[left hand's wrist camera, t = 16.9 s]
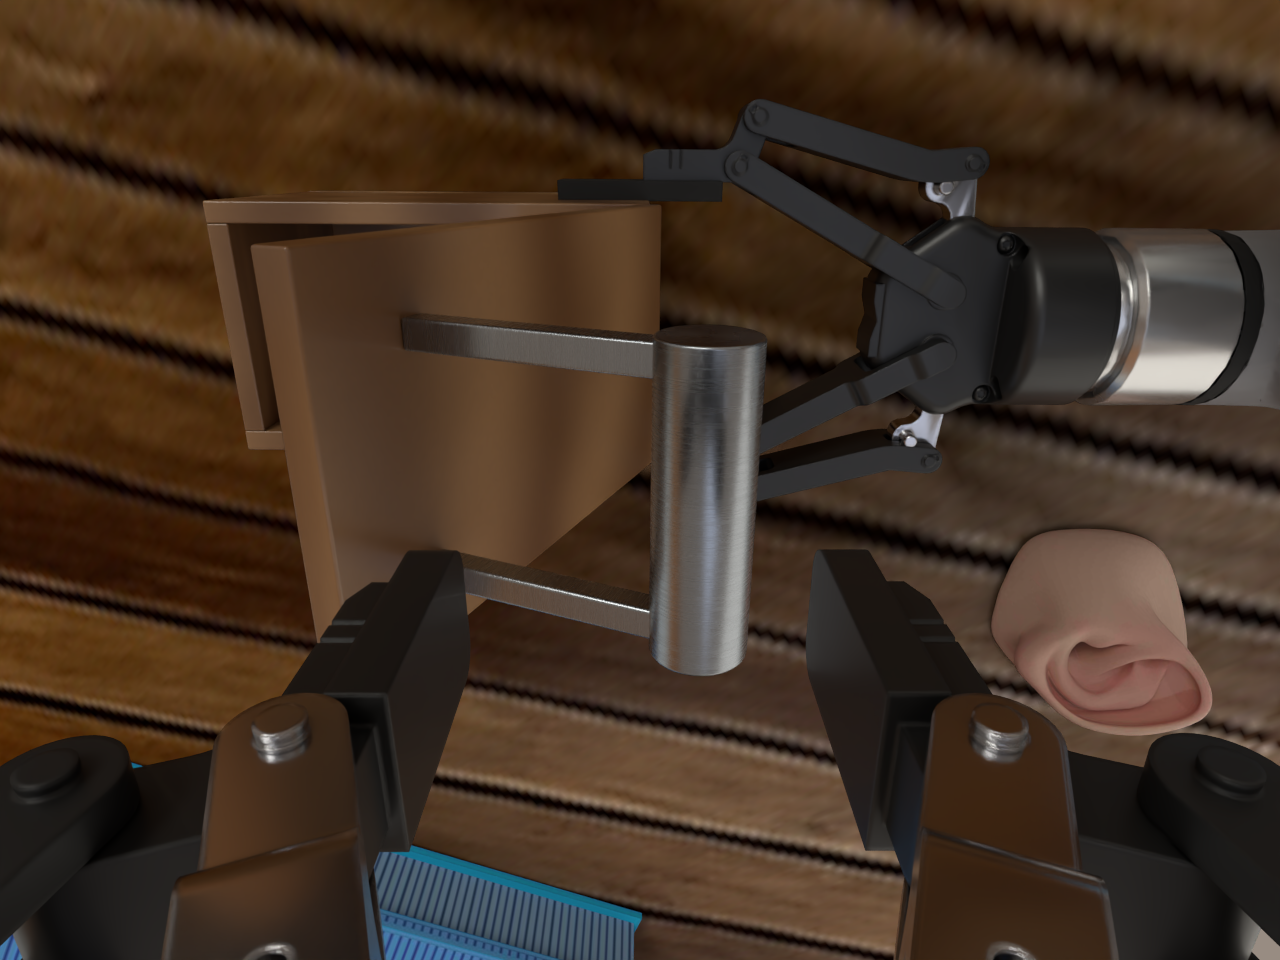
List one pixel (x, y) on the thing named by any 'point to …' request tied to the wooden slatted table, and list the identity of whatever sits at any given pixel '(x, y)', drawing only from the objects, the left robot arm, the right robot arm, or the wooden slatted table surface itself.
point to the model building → (482, 914)
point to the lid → (515, 418)
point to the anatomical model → (1101, 632)
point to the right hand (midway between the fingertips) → (564, 315)
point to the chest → (325, 216)
